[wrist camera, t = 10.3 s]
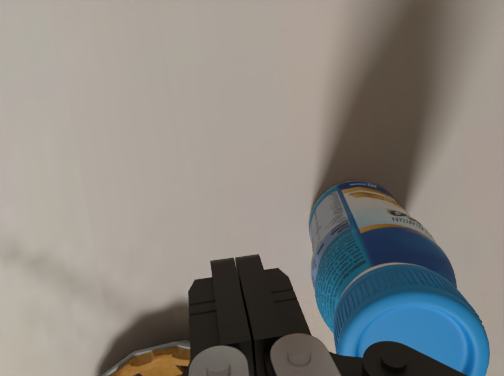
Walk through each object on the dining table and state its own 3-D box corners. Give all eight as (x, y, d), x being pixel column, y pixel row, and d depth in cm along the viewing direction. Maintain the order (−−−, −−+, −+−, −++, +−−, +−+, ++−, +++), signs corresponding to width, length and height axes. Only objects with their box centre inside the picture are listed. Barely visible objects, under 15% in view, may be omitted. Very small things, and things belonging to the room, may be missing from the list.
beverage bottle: (292, 198, 39) (290, 308, 19) (383, 162, 37) (480, 242, 18) (327, 280, 40) (358, 459, 21) (416, 248, 39) (539, 409, 19)
